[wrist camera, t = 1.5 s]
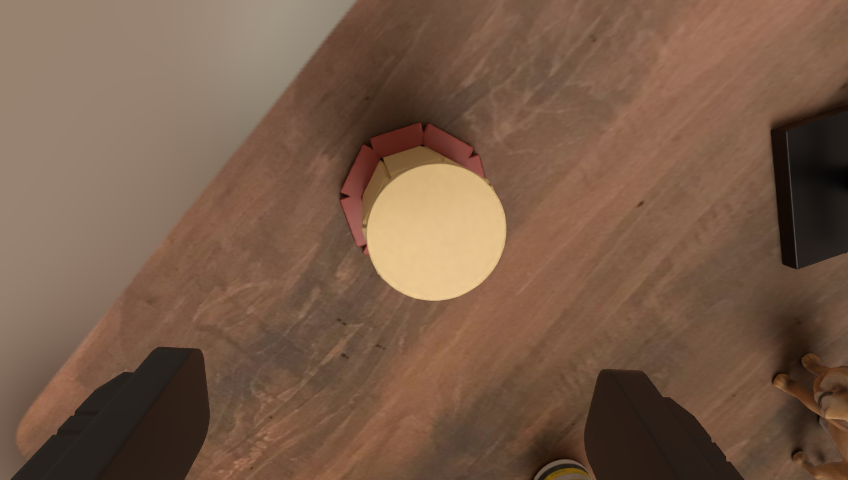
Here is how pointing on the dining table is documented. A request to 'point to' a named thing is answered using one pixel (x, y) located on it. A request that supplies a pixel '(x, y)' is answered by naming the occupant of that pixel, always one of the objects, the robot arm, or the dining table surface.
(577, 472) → the supplement bottle
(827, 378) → the lion figurine
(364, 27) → the dining table surface
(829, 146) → the stand
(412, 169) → the tan paneled canister
